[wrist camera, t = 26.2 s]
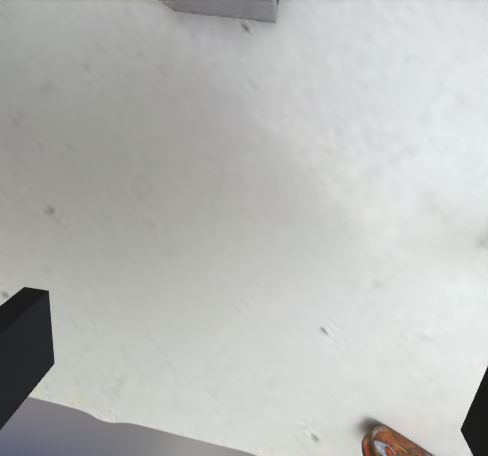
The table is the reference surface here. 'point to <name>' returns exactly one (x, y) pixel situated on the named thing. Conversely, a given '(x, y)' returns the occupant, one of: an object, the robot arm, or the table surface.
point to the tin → (389, 444)
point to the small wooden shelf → (228, 8)
